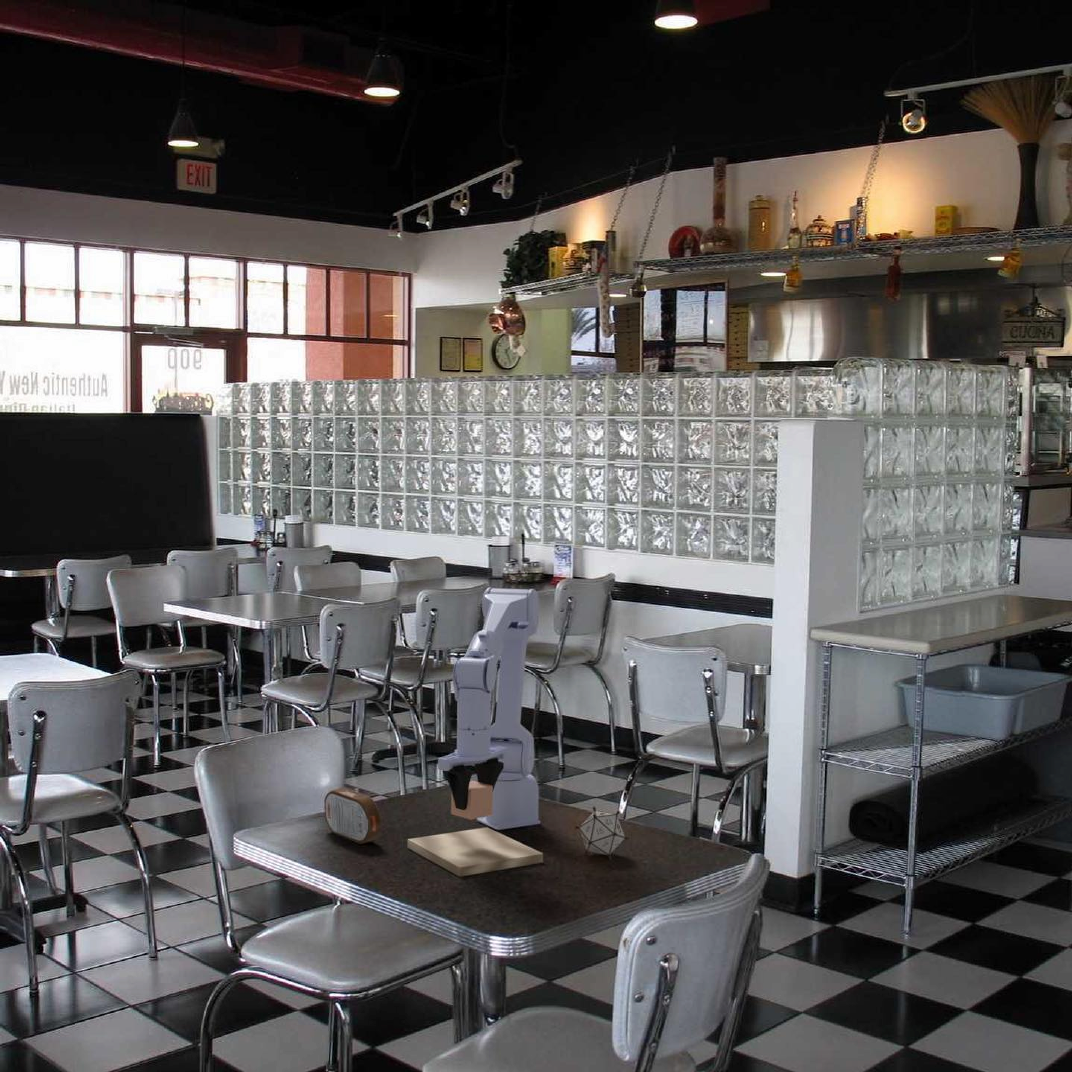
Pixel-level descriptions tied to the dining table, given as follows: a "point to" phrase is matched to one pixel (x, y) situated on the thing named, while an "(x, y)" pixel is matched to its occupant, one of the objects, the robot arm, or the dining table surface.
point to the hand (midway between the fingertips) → (472, 805)
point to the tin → (352, 815)
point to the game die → (601, 832)
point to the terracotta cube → (475, 801)
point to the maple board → (474, 851)
